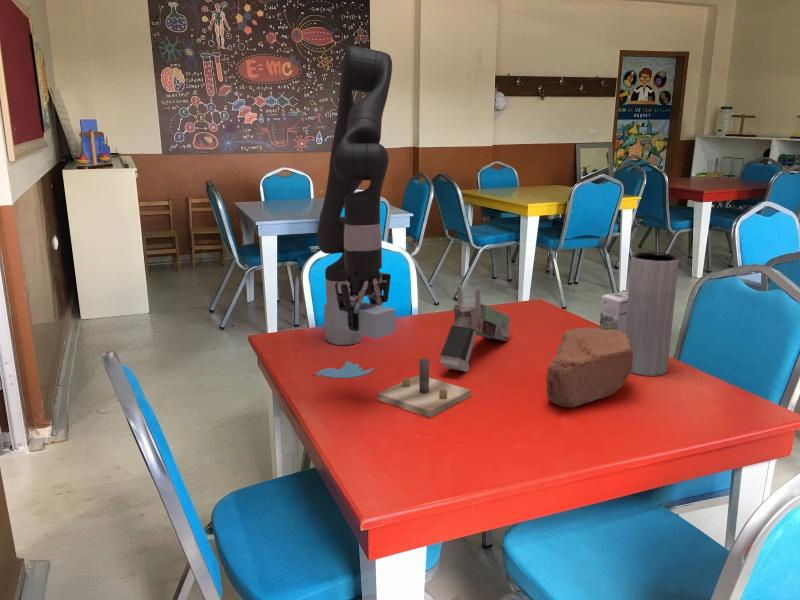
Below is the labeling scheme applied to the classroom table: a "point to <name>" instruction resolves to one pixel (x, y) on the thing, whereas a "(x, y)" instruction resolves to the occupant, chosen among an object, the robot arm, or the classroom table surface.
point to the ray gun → (471, 330)
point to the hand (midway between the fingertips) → (364, 326)
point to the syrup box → (613, 312)
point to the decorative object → (344, 371)
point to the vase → (651, 311)
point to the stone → (588, 366)
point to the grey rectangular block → (368, 320)
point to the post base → (424, 393)
